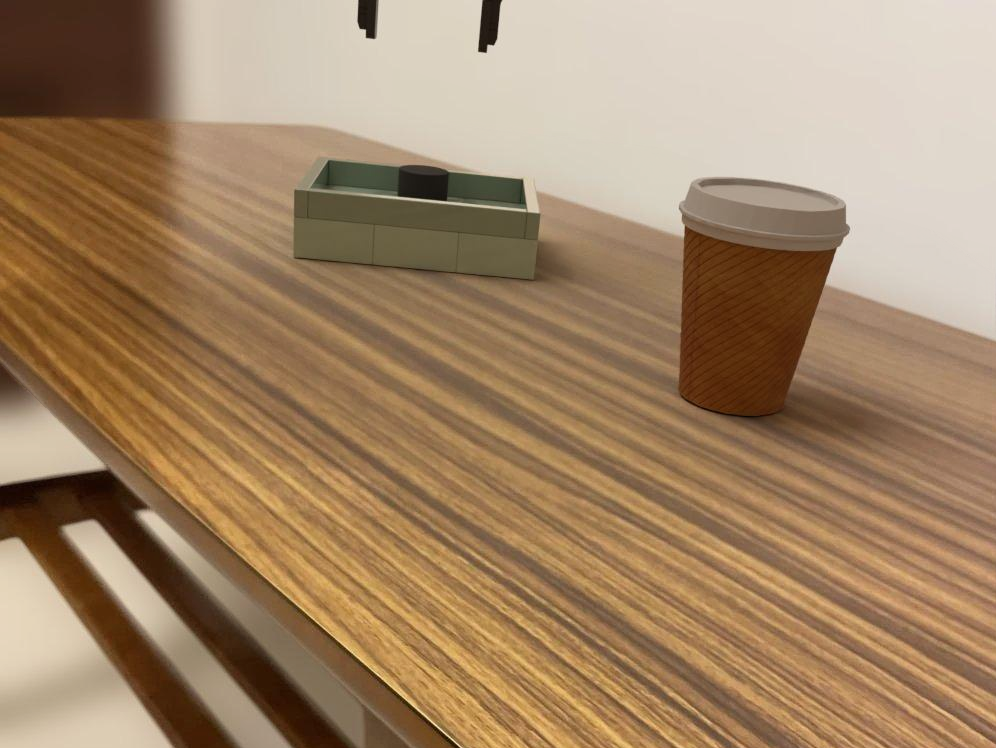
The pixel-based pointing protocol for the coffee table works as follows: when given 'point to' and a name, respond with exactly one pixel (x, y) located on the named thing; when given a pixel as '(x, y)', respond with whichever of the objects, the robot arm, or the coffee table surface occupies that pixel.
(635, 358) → the coffee table surface
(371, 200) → the basin rim
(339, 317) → the coffee table surface
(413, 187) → the stopper
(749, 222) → the disposable coffee cup
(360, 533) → the coffee table surface
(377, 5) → the robot arm
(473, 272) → the green tray
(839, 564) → the coffee table surface
